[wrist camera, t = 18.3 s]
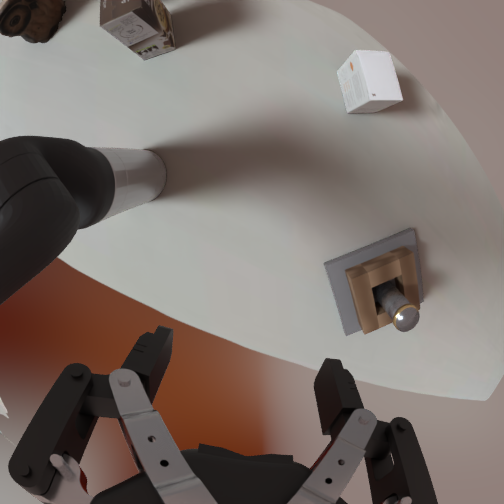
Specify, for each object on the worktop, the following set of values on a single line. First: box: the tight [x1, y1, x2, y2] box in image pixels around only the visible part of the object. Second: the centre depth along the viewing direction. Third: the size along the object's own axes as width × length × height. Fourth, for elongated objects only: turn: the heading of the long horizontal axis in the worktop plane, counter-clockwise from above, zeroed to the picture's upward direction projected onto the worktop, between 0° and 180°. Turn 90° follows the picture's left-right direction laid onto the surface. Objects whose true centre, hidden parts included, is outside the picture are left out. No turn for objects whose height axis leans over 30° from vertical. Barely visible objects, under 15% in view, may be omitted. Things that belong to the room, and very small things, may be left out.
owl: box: [0, 0, 66, 43], centre depth 21 cm, size 13×13×20 cm
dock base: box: [324, 228, 424, 336], centre depth 47 cm, size 18×16×2 cm
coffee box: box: [100, 0, 176, 60], centre depth 26 cm, size 9×6×16 cm
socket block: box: [345, 246, 420, 334], centre depth 44 cm, size 12×12×4 cm
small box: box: [337, 50, 403, 114], centre depth 32 cm, size 8×6×10 cm
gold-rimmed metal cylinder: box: [372, 281, 419, 332], centre depth 40 cm, size 4×4×12 cm
